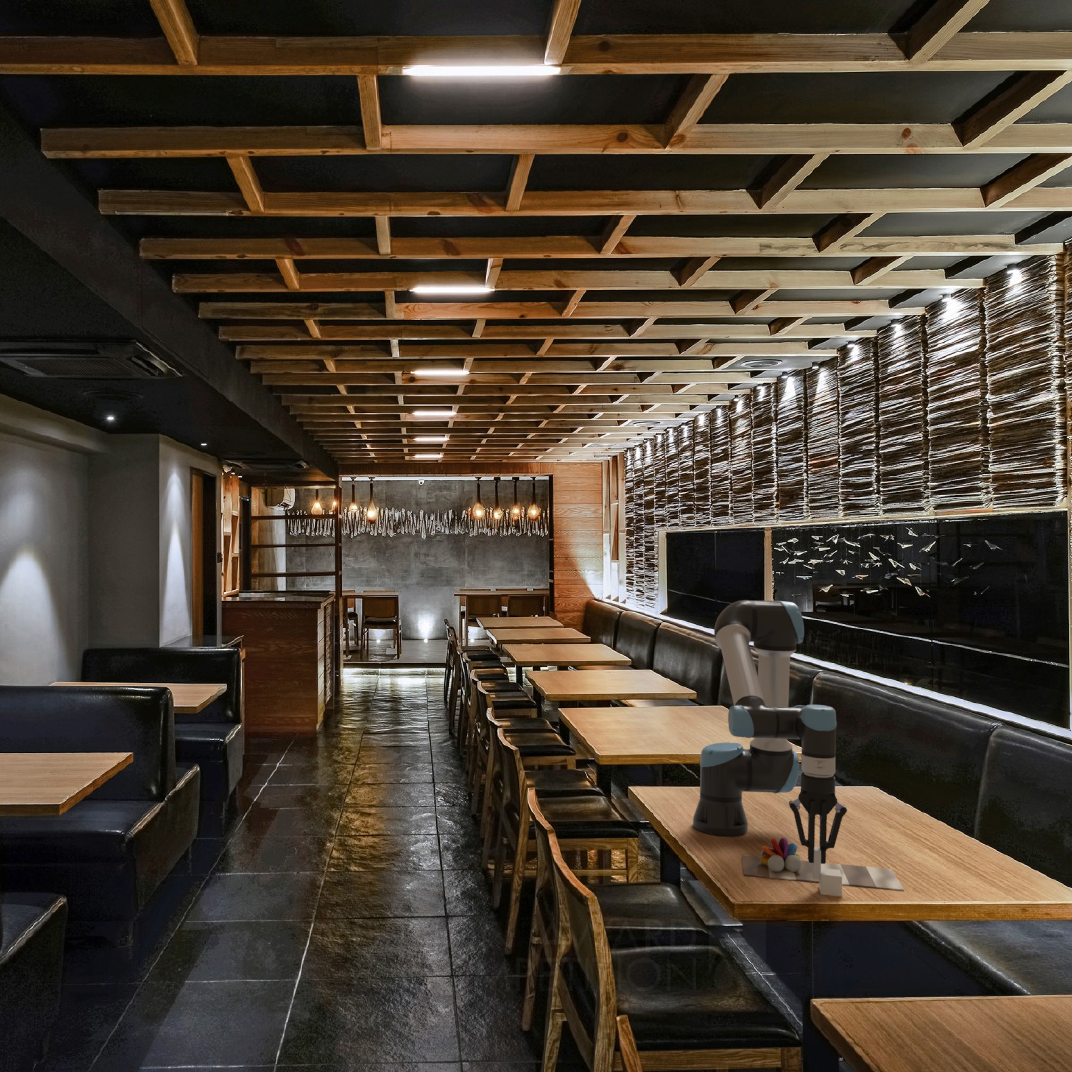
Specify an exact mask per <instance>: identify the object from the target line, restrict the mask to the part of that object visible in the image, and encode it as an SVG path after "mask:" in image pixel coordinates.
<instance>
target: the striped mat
mask: <svg viewBox="0 0 1072 1072" xmlns="http://www.w3.org/2000/svg"><path fill="white" fill-rule="evenodd" d="M741 861H742V862H741V863H742V871H743V876H744V877H745V876H746V877H754V878H766V879H767V878H768V879H775V880H776V879H777V880H786V881H798V882H808V883H809V882H810V883H816V884H817V883H818V884H819V879H814V878H813V875H812V870H813V863H809V860H801V868H800V869H799V870H798V871H796V872H791V871H789V870H787V868H786V867H785V864H784V868H783V869H782V870H781V871H780V872H774V871H772V870H770V869H769V867H768V865H765V864H763V863H762V862H761V856H756V855H755V856H754V855H753V856H752V855H746V854H745V855H743V854H741ZM821 868H825V869H835V870H840V872H841V875H842V886H851V887H860V888H862V887H863V888H871V889H881V890H882V889H883V890H891V891H901V892H904V891H905V888H904V887H903V885H902V883H901V882H900V880H899V879H898V877H897V876H896V874H895V872H894V871H893V869H892V868H887V867H886V868H885V867H875V866H865V865H855V864H854V865H852V864H845V863H844V864H842V863H841V864H840V863H833V862H832V863H830V862H826V863H825V864H821Z"/></svg>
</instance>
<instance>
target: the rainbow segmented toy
mask: <svg viewBox="0 0 1072 1072" xmlns="http://www.w3.org/2000/svg"><path fill="white" fill-rule="evenodd" d="M770 844H771V847H769V846H767V845H763V846H762V847H761V849H762V850H761V851H760V857H761V862H762V863H763V864H765V865H768V867H769V869H770V870H772V871H774V872H780V871H781V870H782V869H783V868H784V864H785V867H786V868H787V870H789V871H791V872H796V871H798V870H799V869H800V868H801V861H802V860H801V856H799V855H798V854H797V850H798V845H797V844H796V843H794V842H793V843H789V841H788V840H787V838H786V837H781V838H780V839H779V841H778V842H777V840H776V839H775V838H771V839H770Z"/></svg>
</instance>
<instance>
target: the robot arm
mask: <svg viewBox="0 0 1072 1072" xmlns="http://www.w3.org/2000/svg"><path fill="white" fill-rule="evenodd" d="M803 619H804V618H803V615H802V612H801V610H800V608H799V606H798V605H797V604H796V603H794V602H792V601H782V600H749V599H743V600H737V601H734V602H732V603H730V604H729V605H727V606H726V607H725V608H724V609H723V610H722V611H721V612H720V613H719V615H718V616H717V619H716V621H715V625H714V628H713V629H714V630H713V633H714V634H713V635H714V639H715V640H714V641H715V643H716V645H717V647H718V648H719V649H720V650H721V654H722V657H723V664H724V666H725V671H726V677H727V680H728V684H729V690H730V693H731V697H732V702H733V705H731V706H730V708H729V710H728V714H727V722H728V730H729V732H730V735H732V736H733V737H736V738H745V739H752V740H750V743H749V748H747V749H746V748H744V747H743V745H742V744H741V743H738V742H717V743H712V744H708V745H706V746H704V747H703V748H702V750H701V753H700V762H699V766H700V770H699V771H700V772H699V773H700V775H699V776H700V777H699V778H700V779H699V781H700V782H699V783H700V785H699V800H698V802H697V806H696V808H695V812H694V815H693V818H692V826H693V828H694V829H695V830H697V831H700V832H702V833H704V834H709V835H713V836H714V835H715V836H724V837H732V836H734V837H735V836H740V835H744V834H746V833H747V832H748V831H749V829H748V828H749V824H748V822H749V821H748V818H747V816H746V811H745V809H744V805H743V792H746V793H747V792H748V793H771V794H779V793H780V794H781V793H783V794H784V793H790V792H792V791H793V790H794V788H795V787H796V786H797V785H796V784H797V782H798V778H799V772H800V770H801V771H802V772H801V774H800V792H799V794H798V796H797V797H798V798H796V799H793V800H789V802H788V806H789V808H790V810H791V811H792V812H793V815H794V822H795V825H796V829H797V834H798V837H799V842H800V845H801V846H803V847H807V859H808V860H807V861H809V863H813V870H812V875H813V878H814V879H819V880H821V864H825V863H827V850H828V849H834V848H835V846H836V842H837V839H838V835H839V831H840V827H841V824H842V821H843V817H844V816H845V814H846V813H848V809H847V807H846V805H845V804H842V803H840V802H839V801H838V799H837V796H836V777H835V774H836V752H837V751H836V749H837V742H836V741H837V738H836V737H837V726H838V721H837V713H836V712H837V711H836V710H835V708H833V707H832V706H828V705H824V704H823V705H822V704H807V705H801V704H800V705H799V704H798V705H795V706H792V707H789V701H790V698H789V695H790V694H789V693H790V667H791V656H792V655H793V654H794V653H795V652H796V651H797V644H798V645H799V644H802V643H803V641H804V637H805V625H804V620H803ZM752 642H753V646H752V647H753V649H754V650H755V651H756V652H757V654H758V664H757V666H758V667H757V668H756V665H755V661H754V660H755V659H754V658H753V657H754V656H753V653H752V650H751V646H750V643H752ZM757 669H758V670H757ZM789 740H801V756H800V757H801V762H800V764H799V761H800V760H799V758H800V757H799V755H798V753H797V752H796V751H794V750H793V745H792V744H791V742H790V741H789ZM800 765H801V766H800ZM800 804H801V805H802V806H803V808H804V809H805V811H806V813H807V820H808V821H807V839H806V836H805V831H804V827H803V822H802V817H801V814H800V811H799V810H800V809H801V805H800ZM833 809H834V810H835V813H834V817H833V820H832V824H831V828H830V832H829V836H828V839H827V830H828V829H827V828H828V827H827V826H828V825H827V823H828V822H827V820H828V815H829V814H831V813H830V812H831V811H832V810H833ZM816 816H819V846H815V844H816V843H815V838H816V837H815V835H816V834H815V833H816V831H815V830H816Z"/></svg>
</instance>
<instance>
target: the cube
mask: <svg viewBox="0 0 1072 1072" xmlns="http://www.w3.org/2000/svg"><path fill="white" fill-rule="evenodd" d="M818 889H819V893H820V895H824V896H825V895H826V896H833V897H843V885H842V875H841V872H840V870H835V869H825V868H821V880H819V883H818Z"/></svg>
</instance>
